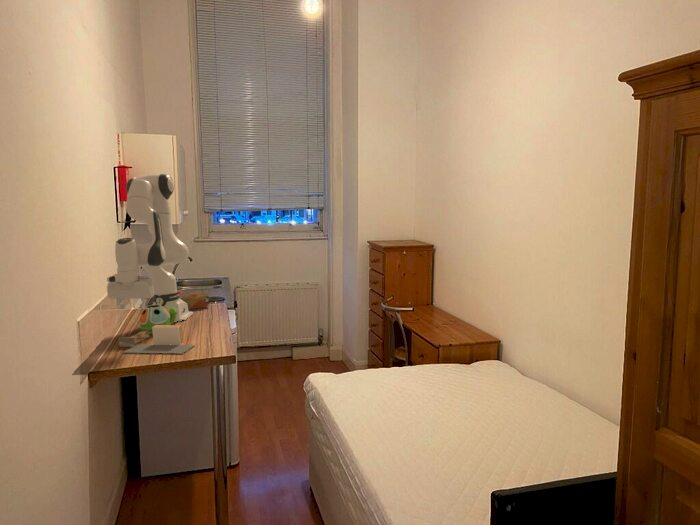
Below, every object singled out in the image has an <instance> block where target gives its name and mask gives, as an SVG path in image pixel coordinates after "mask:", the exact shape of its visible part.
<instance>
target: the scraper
mask: <svg viewBox="0 0 700 525" xmlns="http://www.w3.org/2000/svg"><path fill="white" fill-rule="evenodd" d="M148 336H149V337H150V335H149V330H143V331H142V330H141V331H139V332H137V333H136V334H132V335H131V336H130V337H128V336H120V337H118V344H119V347H120V348H121V347H123V348H127V347H128V348H132V347H134V346H136V345H137V344H138V343H139V341H140V342H142V341H143V340H142V339H144V338H146V337H148ZM149 337H148V338H149ZM146 339H147V338H146ZM141 340H142V341H141ZM144 340H145V339H144ZM137 342H138V343H137Z"/></svg>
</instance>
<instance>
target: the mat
mask: <svg viewBox="0 0 700 525" xmlns="http://www.w3.org/2000/svg"><path fill="white" fill-rule="evenodd" d="M194 346H195V345H193V344H192V345H191V344H190V345H189V344H188V345H187V344H182V345H154V344H136V346H134V347H129V349H126V350H124V351H122V354H130V355H131V354H133V355H137V354H138V353H149V354H148V355H160V354H159V353H162V354H161V355H167V354H166V353H177V354H176V355H184V354H185V353H184V352H186V351H187V350H189V349H190V350H192V349H193V348H195V347H194ZM192 347H193V348H192ZM191 348H192V349H191ZM190 350H189V351H190ZM187 352H188V351H187ZM187 352H186V353H187ZM164 353H165V354H164ZM180 353H181V354H180ZM183 353H184V354H183ZM138 355H139V354H138Z"/></svg>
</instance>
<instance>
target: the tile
mask: <svg viewBox="0 0 700 525" xmlns="http://www.w3.org/2000/svg"><path fill="white" fill-rule="evenodd" d="M152 332H153V334H152V339H153V345H170V344H171V345H180V344H182V343H185V342H184V333H183V332H184V331H183V325H180V324H179V325H178V324H175V325H173V324H171V325H155V326H153V327H152ZM182 345H183V344H182Z"/></svg>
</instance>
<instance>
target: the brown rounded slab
mask: <svg viewBox="0 0 700 525" xmlns="http://www.w3.org/2000/svg"><path fill="white" fill-rule="evenodd" d="M181 300H183V301H184V302H186V303H187V305H188V310H197V309H196V308H199V309H204V308H207V307H208V306H209V304H210V303H211V302H210V301H211V299H210V296H209V295H208V294H207V293H205V292H197V293H188V294H184V295H183V296H182V298H181Z"/></svg>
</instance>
